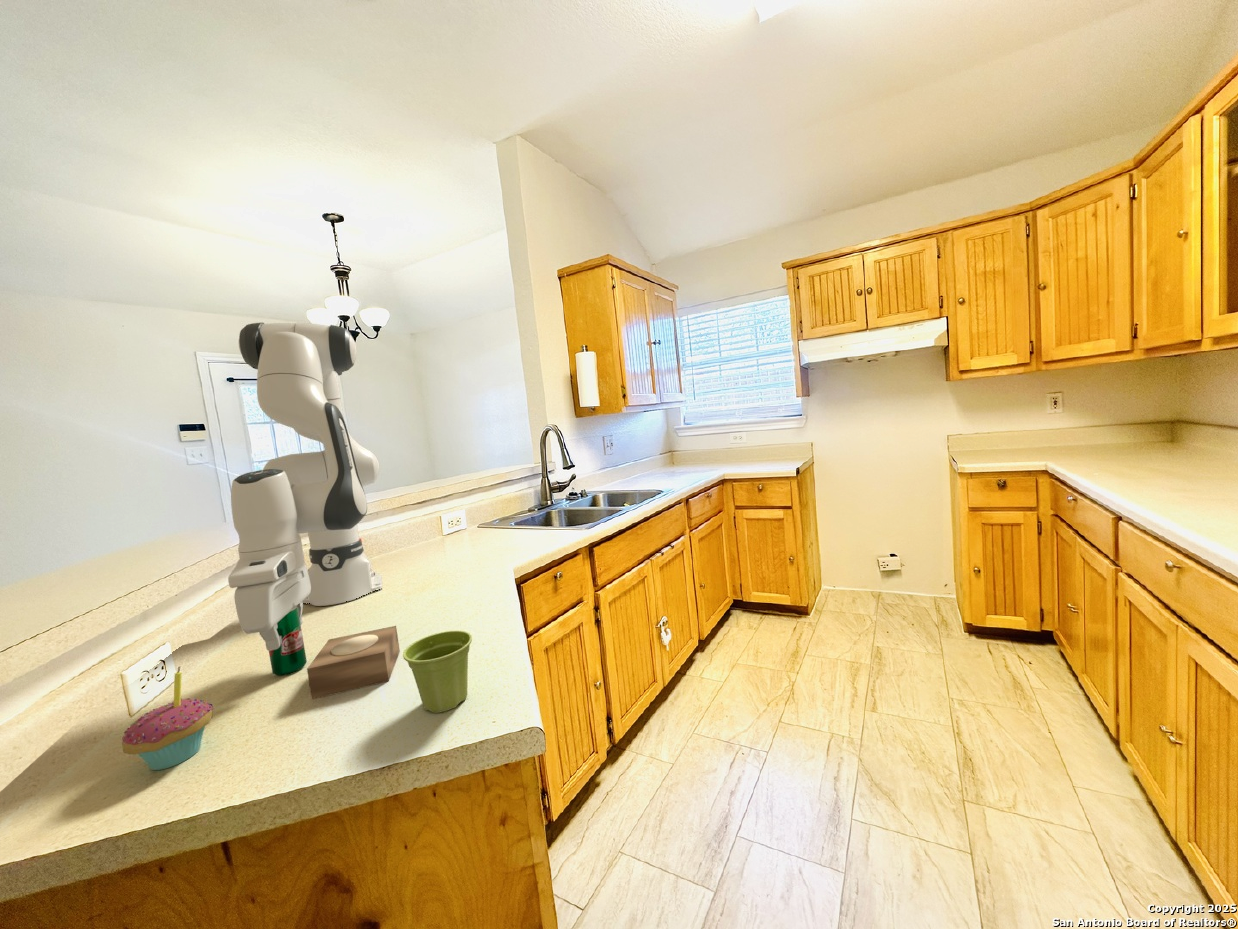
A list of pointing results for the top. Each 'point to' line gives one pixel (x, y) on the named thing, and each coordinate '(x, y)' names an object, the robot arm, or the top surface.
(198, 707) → the cupcake
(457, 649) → the plant pot
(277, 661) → the soda can
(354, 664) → the plinth
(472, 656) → the top surface
